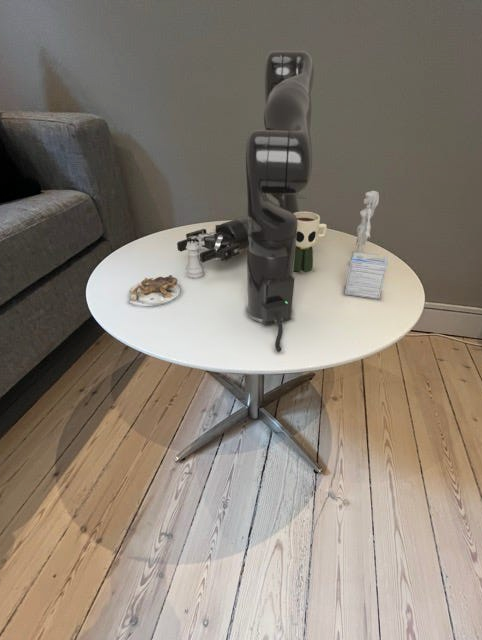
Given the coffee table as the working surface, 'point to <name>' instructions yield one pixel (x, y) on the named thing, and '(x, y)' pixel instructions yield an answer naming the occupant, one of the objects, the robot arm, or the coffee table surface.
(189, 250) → the rook chess piece
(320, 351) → the coffee table surface
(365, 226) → the human figurine
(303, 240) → the character mug
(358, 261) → the medicine box
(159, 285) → the frog figurine
